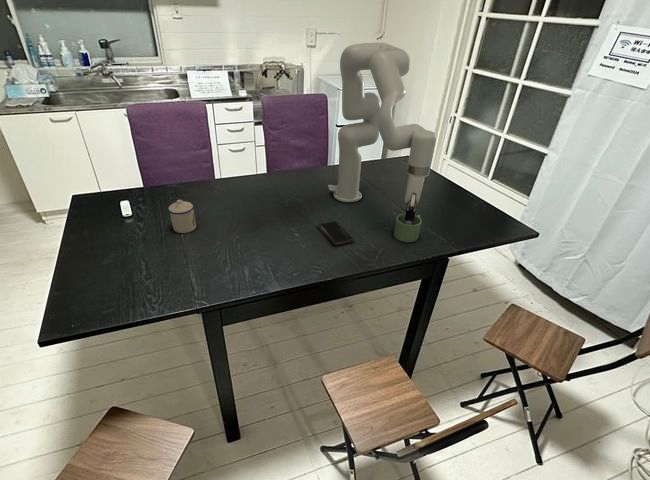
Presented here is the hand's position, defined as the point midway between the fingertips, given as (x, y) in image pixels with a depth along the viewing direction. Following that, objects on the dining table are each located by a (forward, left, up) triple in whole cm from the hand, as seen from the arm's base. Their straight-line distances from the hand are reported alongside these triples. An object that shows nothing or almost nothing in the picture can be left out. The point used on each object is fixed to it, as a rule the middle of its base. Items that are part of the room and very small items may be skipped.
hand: (409, 215), depth 139 cm
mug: (+1, +1, -9) cm, 9 cm away
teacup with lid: (-84, -18, -9) cm, 86 cm away
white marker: (0, 0, -8) cm, 8 cm away
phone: (-26, -7, -9) cm, 28 cm away
